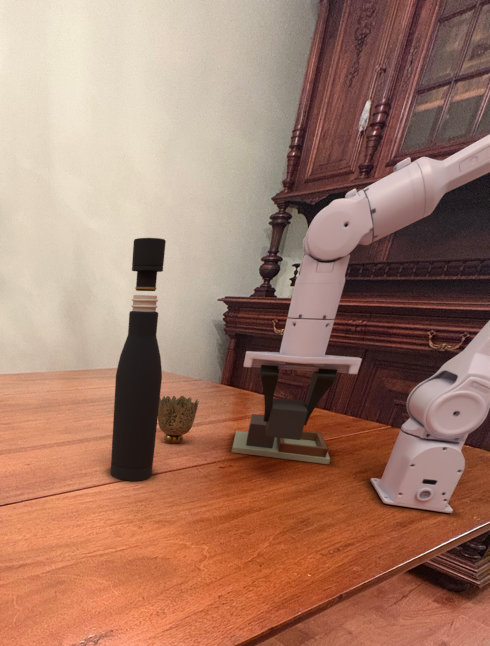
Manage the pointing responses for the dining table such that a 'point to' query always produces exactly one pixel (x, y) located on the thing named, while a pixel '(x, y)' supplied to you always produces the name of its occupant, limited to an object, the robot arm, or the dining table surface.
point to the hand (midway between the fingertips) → (284, 422)
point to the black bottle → (139, 372)
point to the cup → (176, 417)
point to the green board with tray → (280, 444)
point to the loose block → (286, 419)
